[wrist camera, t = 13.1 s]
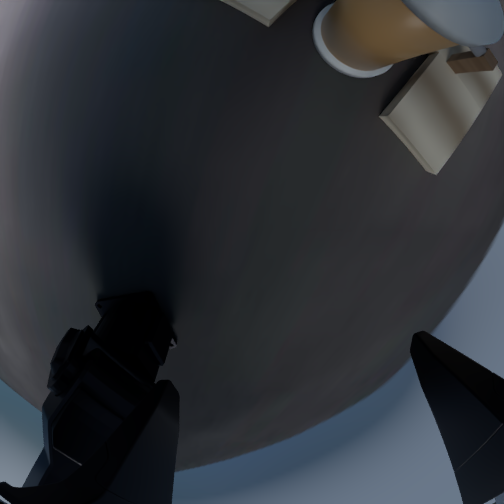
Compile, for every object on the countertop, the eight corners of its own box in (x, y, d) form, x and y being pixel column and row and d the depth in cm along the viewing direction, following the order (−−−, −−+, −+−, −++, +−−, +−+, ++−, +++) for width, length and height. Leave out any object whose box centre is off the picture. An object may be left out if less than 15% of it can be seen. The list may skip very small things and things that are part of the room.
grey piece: (426, 171, 18) (473, 190, 13) (200, -9, 13) (182, -49, 7) (492, 74, 14) (535, 74, 8) (308, -87, 8) (321, -122, 2)
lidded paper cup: (356, 94, 16) (474, 75, 5) (293, 33, 14) (344, -63, 3) (405, 51, 14) (520, 22, 3) (348, -6, 12) (425, -85, 2)
